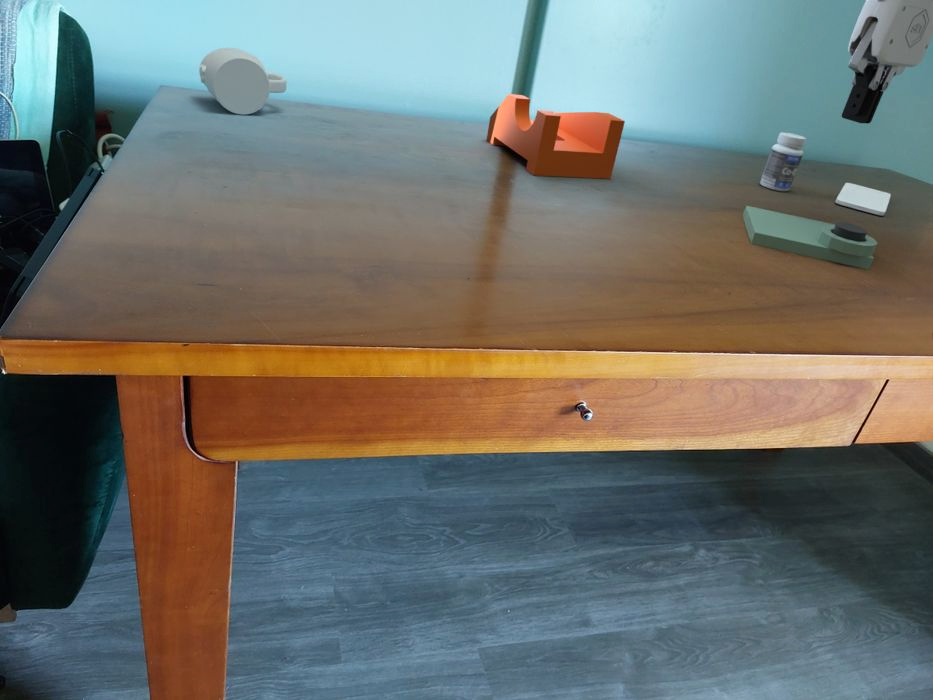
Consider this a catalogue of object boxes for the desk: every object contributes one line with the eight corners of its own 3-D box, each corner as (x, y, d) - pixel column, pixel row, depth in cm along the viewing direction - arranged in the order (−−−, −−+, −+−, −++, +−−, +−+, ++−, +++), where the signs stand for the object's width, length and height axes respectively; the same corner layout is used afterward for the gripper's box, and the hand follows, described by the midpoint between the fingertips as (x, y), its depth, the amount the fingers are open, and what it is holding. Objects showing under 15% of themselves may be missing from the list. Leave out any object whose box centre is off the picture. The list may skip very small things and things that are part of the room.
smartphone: (835, 199, 114) (845, 182, 126) (833, 203, 114) (844, 186, 126) (885, 212, 111) (891, 193, 123) (883, 217, 111) (889, 198, 123)
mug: (208, 113, 105) (206, 54, 102) (200, 98, 113) (198, 42, 109) (291, 117, 110) (293, 62, 107) (278, 102, 118) (279, 50, 114)
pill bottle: (778, 193, 115) (798, 139, 111) (753, 183, 118) (771, 131, 114) (795, 191, 118) (814, 139, 114) (769, 181, 121) (788, 130, 117)
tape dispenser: (610, 178, 107) (624, 121, 103) (533, 175, 102) (545, 114, 98) (556, 144, 121) (566, 92, 117) (486, 140, 117) (495, 86, 113)
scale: (849, 239, 98) (858, 218, 97) (872, 273, 87) (883, 249, 86) (742, 216, 100) (749, 195, 99) (751, 246, 89) (759, 223, 88)
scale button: (859, 236, 90) (863, 226, 90) (866, 245, 87) (870, 235, 87) (829, 230, 91) (833, 219, 90) (835, 239, 88) (839, 228, 87)
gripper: (920, -47, 77) (849, 128, 86) (984, -30, 85) (913, 129, 94) (856, -54, 82) (795, 111, 91) (921, -37, 90) (860, 114, 99)
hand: (855, 120), depth 93 cm, fingers closed
